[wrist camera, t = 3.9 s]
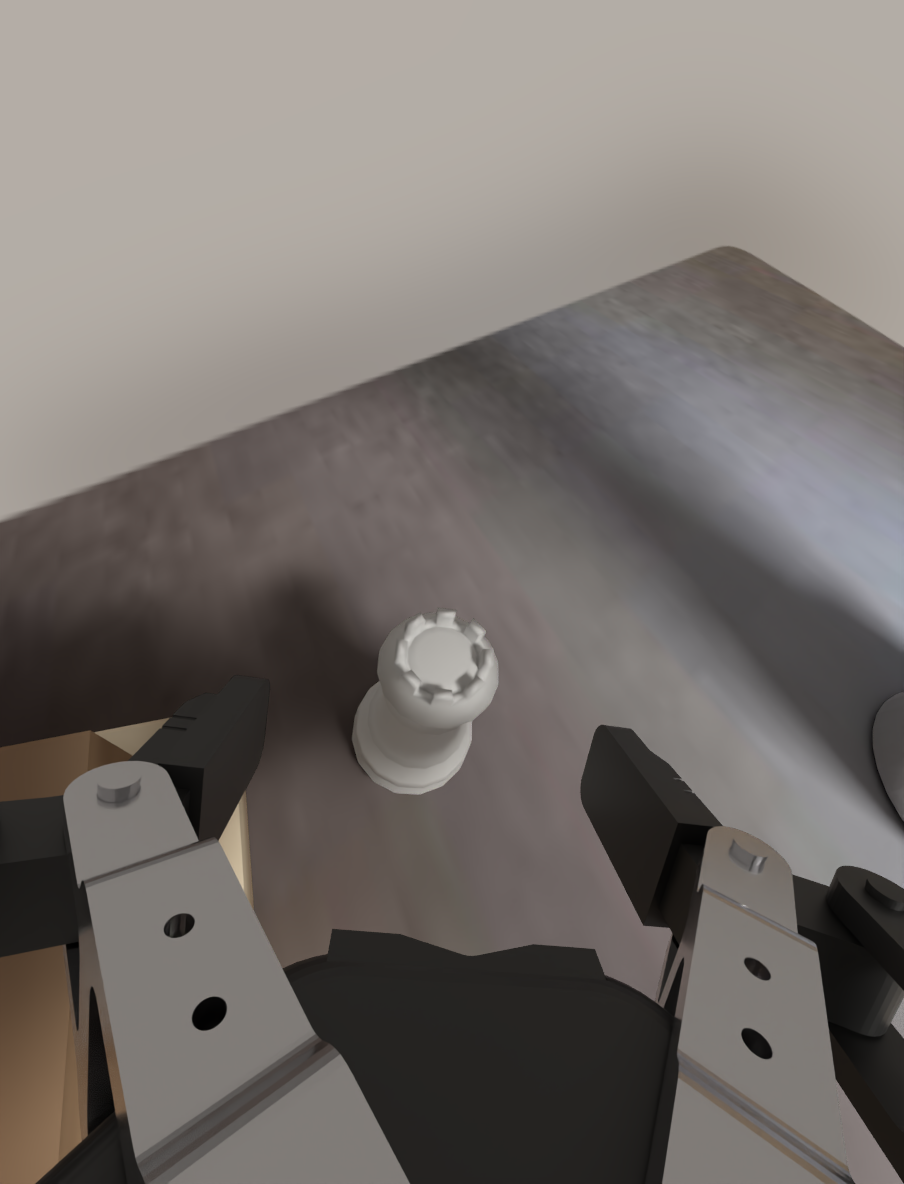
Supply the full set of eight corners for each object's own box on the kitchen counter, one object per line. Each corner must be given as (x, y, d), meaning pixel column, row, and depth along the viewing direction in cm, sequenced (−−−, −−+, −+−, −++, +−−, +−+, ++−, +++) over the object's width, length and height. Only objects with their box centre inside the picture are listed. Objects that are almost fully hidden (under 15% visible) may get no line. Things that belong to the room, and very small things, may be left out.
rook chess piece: (331, 712, 19) (321, 616, 12) (430, 662, 21) (471, 553, 14) (386, 822, 17) (411, 782, 10) (488, 757, 19) (566, 687, 12)
